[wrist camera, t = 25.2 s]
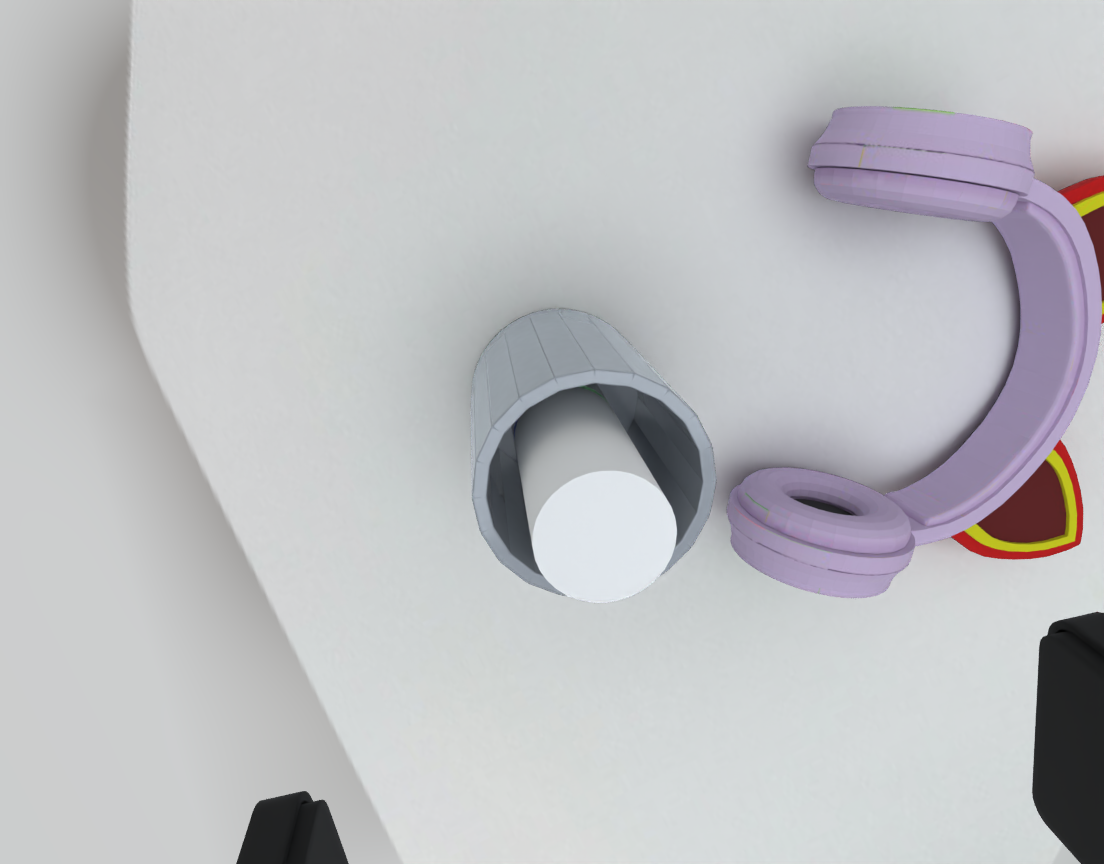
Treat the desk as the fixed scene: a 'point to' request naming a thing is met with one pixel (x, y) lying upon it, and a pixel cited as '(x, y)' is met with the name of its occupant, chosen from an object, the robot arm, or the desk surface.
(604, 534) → the tube
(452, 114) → the desk surface
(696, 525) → the pen holder
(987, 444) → the headphones
